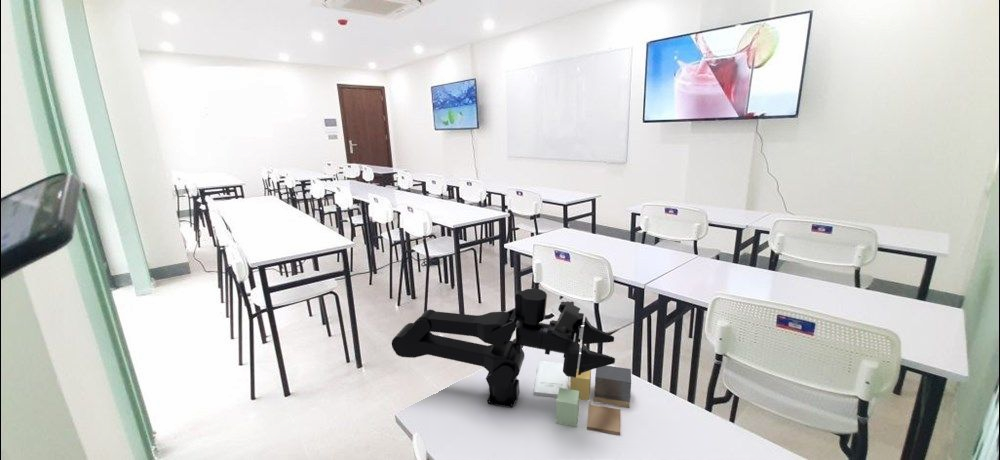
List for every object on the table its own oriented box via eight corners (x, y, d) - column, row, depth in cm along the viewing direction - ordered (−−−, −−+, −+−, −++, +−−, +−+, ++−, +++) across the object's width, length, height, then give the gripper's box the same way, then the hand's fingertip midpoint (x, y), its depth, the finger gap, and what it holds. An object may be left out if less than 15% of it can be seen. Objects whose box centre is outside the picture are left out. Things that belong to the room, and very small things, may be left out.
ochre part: (570, 397, 99) (570, 376, 97) (572, 385, 103) (572, 365, 101) (588, 400, 98) (589, 379, 96) (590, 388, 102) (591, 367, 100)
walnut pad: (586, 429, 89) (587, 426, 89) (589, 407, 95) (589, 404, 95) (620, 435, 87) (620, 432, 87) (620, 412, 93) (620, 409, 93)
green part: (556, 423, 91) (556, 401, 89) (559, 409, 95) (559, 387, 93) (576, 426, 90) (577, 404, 88) (578, 412, 94) (579, 390, 92)
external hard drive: (568, 368, 110) (567, 400, 99) (538, 365, 112) (533, 396, 100) (569, 363, 110) (567, 395, 98) (538, 360, 111) (533, 391, 100)
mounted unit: (594, 401, 97) (595, 377, 95) (595, 387, 102) (596, 363, 100) (629, 407, 95) (631, 382, 93) (629, 392, 100) (630, 368, 97)
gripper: (540, 322, 81) (621, 336, 77) (551, 288, 98) (618, 298, 95) (535, 371, 84) (613, 387, 80) (547, 329, 101) (611, 341, 98)
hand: (614, 349), depth 88 cm, fingers open, 9 cm apart
